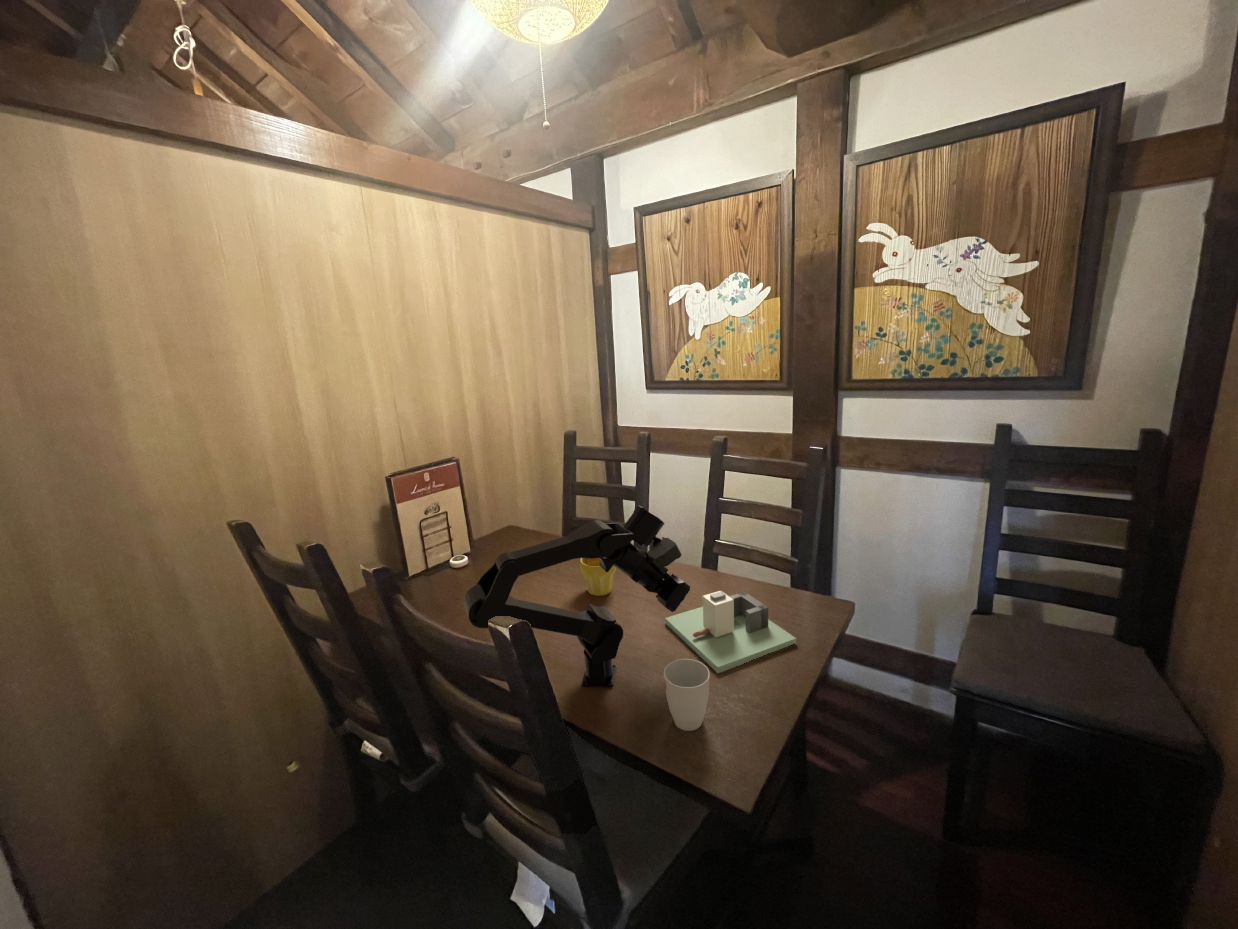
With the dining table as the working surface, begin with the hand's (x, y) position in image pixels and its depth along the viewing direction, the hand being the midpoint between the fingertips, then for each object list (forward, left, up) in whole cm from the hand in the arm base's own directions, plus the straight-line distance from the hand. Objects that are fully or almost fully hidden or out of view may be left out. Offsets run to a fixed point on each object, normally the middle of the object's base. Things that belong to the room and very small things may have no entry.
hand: (681, 597), depth 109 cm
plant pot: (+28, +23, -13) cm, 38 cm away
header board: (+6, -10, -13) cm, 18 cm away
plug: (+4, -6, -11) cm, 13 cm away
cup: (-22, 0, -13) cm, 26 cm away
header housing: (+9, -15, -11) cm, 21 cm away
